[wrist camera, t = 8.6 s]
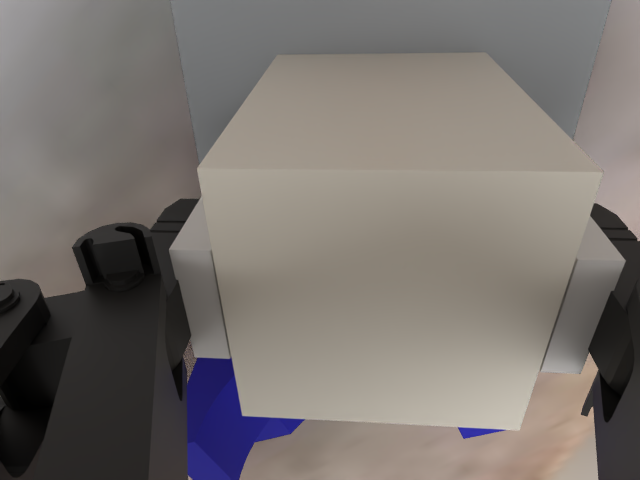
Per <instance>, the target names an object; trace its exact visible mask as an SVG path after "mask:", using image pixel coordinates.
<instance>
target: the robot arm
mask: <svg viewBox="0 0 640 480" xmlns="http://www.w3.org/2000/svg"><path fill="white" fill-rule="evenodd" d="M72 249H73V252H74V254H75V257H76V260H77V262H78V265H79V268H80V270H81V273H82V275H83V278H84V281H85V283H86V288H85V291H80V292H76V293H71V294H65V295H59V296H54V297H48V298H44V296H43V294H42V292H41V289H40V287H39V285H38V284H36V283H35V282H33V281H31V280H24V279H14V280H6V281H1V282H0V396H1V397H0V480H188V454H187V370H186V366H185V362H184V358H183V354H184V352H185V349H186V347H187V345H188V342H189V340H191V344H192V348H193V352H194V356H195V357H199V358H222V359H230V358H231V352H230V346H229V341H228V336H227V330H226V325H225V319H224V314H223V308H222V303H221V297H220V292H219V287H218V281H217V276H216V270H215V265H214V259H213V254H212V249H211V243H210V238H209V232H208V227H207V221H206V216H205V210H204V205H203V200H202V196H201V198H200V199H179V200H178V201H176V202H175V203H173V204H172V205H170V206H169V207H167V208H166V209H165V210H164V211H163V213H162V214H161V215H160V217H159V218H158V220H157V223H155V224H154V225H153V227H152V228H151V229H148V228H147V227H145V226H143V225H141V224H136V223H131V222H130V223H115V224H111V225H106V226H102V227H99V228H97V229H95V230H92V231H90V232H88V233H86V234H85V235H84V236H82V237H81V238H79V239H78V240H77V241H76V243H75V244H74V246H73V247H72ZM589 352H590V354H591V356H592V358H593V360H594V362H595V363H596V365H597V367H598V369H599V370H598V372H597V375H596V377H595V379H594V382H593V384H592V386H591V389H590V391H589V393H588V396H587V398H586V400H585V403H584V405H583V408H582V412H581V415H584V416H588V414H589V411H590V409H591V407H593V409H594V423H595V437H596V450H597V464H598V479H599V480H640V241H637V238H636V236H635V235H634V234H633V233H632V232H631V231H630V230H628V227H627V226H626V225H625V224H624V223H623V222H622V221H621V219H620V218H619V217H618V216H617V215H616V214H614V213H612V212H611V211H609V210H607V209H606V208H604V207H602V206H601V205H599V204H593V207H592V211H591V214H590V217H589V220H588V223H587V226H586V229H585V232H584V235H583V238H582V241H581V244H580V247H579V250H578V253H577V256H576V259H575V262H574V265H573V269H572V272H571V275H570V278H569V281H568V284H567V287H566V290H565V293H564V296H563V299H562V302H561V305H560V308H559V311H558V314H557V317H556V320H555V324H554V327H553V330H552V333H551V336H550V339H549V342H548V345H547V348H546V351H545V354H544V357H543V360H542V363H541V366H540V372H550V373H573V374H581V371H582V369H583V366H584V364H585V361H586V359H587V356H588V354H589Z"/></svg>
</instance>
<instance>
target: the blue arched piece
mask: <svg viewBox="0 0 640 480" xmlns="http://www.w3.org/2000/svg"><path fill="white" fill-rule="evenodd" d="M304 420H305V419H291V418H272V417H253V416H242V412H241V406H240V401H239V395H238V390H237V384H236V379H235V374H234V368H233V363H232V357H231V358H230V359H222V358H199V357H198V358H197V361H196V363H195V366H194V368H193V371H192V373H191V376H190V379H189V381H188V384H187V454H188V475H189V476H190V477H191V478H192V479H193V480H239V478H240V474H241V471H242V469H243V466H244V463H245V461H246V458H247V456H248V454H249V452H250V450H251V448H252V446H253V444H254V442H258V441H263V440H267V439H271V438H275V437H280V436H284V435H288V434H291V433H292V432H293V431H294V430H295V429H296V428H297V427H298V426H299V425H300V424H301V423H302V422H303V421H304ZM458 429H459V431H460V433H461V435H462V436H463V438H464V439H465V438H470V437H475V436H480V435H485V434H489V433H494V432H499V431H504V430H502V429H483V428H464V427H458Z"/></svg>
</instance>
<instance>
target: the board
mask: <svg viewBox="0 0 640 480" xmlns="http://www.w3.org/2000/svg"><path fill="white" fill-rule="evenodd" d="M611 1H612V0H170V3H171V9H172V15H173V20H174V26H175V31H176V37H177V43H178V48H179V54H180V59H181V65H182V71H183V76H184V82H185V88H186V93H187V99H188V104H189V110H190V116H191V121H192V127H193V132H194V138H195V144H196V149H197V155H198V160H199V165H200V163H201V162H202V160H203V159H204V158H205V156H206V155H207V153H208V152H209V151H210V149H211V148H212V146H213V145H214V144H215V142H216V141H217V139H218V138H219V136H220V135H221V134H222V132H223V131H224V129H225V128H226V127H227V125H228V124H229V122H230V121H231V119H232V118H233V117H234V115H235V114H236V112H237V111H238V110H239V108H240V107H241V105H242V104H243V103H244V101H245V100H246V98H247V97H248V95H249V94H250V93H251V91H252V90H253V88H254V87H255V86H256V84H257V83H258V81H259V80H260V78H261V77H262V76H263V74H264V73H265V71H266V70H267V69H268V67H269V66H270V64H271V63H272V62H273V60H274V59H275V57H276V56H277V55H295V54H383V53H471V52H486V53H487V54H488V55H489V56H490V57H491V58H492V59H493V60H494V61H495V62H496V63H497V64H498V65H499V66H500V67H501V68H502V69H503V70H504V71H505V72H506V73H507V74H508V75H509V76H510V77H511V78H512V79H513V80H514V81H515V82H516V83H517V84H518V85H519V86H520V87H521V88H522V89H523V90H524V91H525V93H526V94H527V95H528V96H529V97H530V98H531V99H532V100H533V101H534V102H535V103H536V104H537V105H538V106H539V107H540V108H541V109H542V110H543V111H544V112H545V113H546V114H547V115H548V116H549V117H550V118H551V119H552V120H553V121H554V122H555V123H556V124H557V125H558V126H559V127H560V128H561V129H562V130H563V131H564V132H565V133H566V134H567V135H568V136H569V137H570V138H571V139H572V140H573V137H574V134H575V130H576V126H577V123H578V119H579V116H580V112H581V108H582V105H583V101H584V98H585V94H586V91H587V87H588V83H589V80H590V76H591V73H592V69H593V65H594V62H595V58H596V55H597V51H598V47H599V44H600V40H601V37H602V33H603V30H604V26H605V22H606V19H607V15H608V12H609V8H610V4H611Z"/></svg>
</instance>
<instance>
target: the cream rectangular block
mask: <svg viewBox="0 0 640 480" xmlns="http://www.w3.org/2000/svg"><path fill="white" fill-rule="evenodd" d="M197 172H198V178H199V183H200V189H201V194H202V200H203V205H204V210H205V216H206V221H207V227H208V232H209V238H210V243H211V249H212V254H213V259H214V265H215V270H216V276H217V281H218V287H219V292H220V297H221V303H222V308H223V314H224V319H225V325H226V330H227V336H228V341H229V346H230V352H231V357H232V363H233V368H234V374H235V379H236V384H237V390H238V395H239V401H240V406H241V412H242V416H253V417H272V418H291V419H310V420H330V421H349V422H368V423H387V424H406V425H426V426H445V427H464V428H483V429H502V430H520V427H521V424H522V421H523V418H524V415H525V412H526V409H527V406H528V403H529V400H530V397H531V394H532V391H533V388H534V385H535V382H536V378H537V375H538V372H539V369H540V366H541V363H542V360H543V357H544V354H545V351H546V348H547V345H548V342H549V339H550V336H551V333H552V330H553V327H554V324H555V320H556V317H557V314H558V311H559V308H560V305H561V302H562V299H563V296H564V293H565V290H566V287H567V284H568V281H569V278H570V275H571V272H572V269H573V265H574V262H575V259H576V256H577V253H578V250H579V247H580V244H581V241H582V238H583V235H584V232H585V229H586V226H587V223H588V220H589V217H590V214H591V211H592V207H593V204H594V201H595V198H596V195H597V192H598V189H599V186H600V183H601V180H602V177H603V174H604V172H603V170H602V169H601V168H600V167H599V166H598V165H597V164H596V163H595V162H594V161H593V160H592V159H591V158H590V157H589V156H588V155H587V154H586V153H585V152H584V151H583V150H582V149H581V148H580V147H579V146H578V145H577V144H576V143H575V142H574V141H573V140H572V139H571V138H570V137H569V136H568V135H567V134H566V133H565V132H564V131H563V130H562V129H561V128H560V127H559V126H558V125H557V124H556V123H555V122H554V121H553V120H552V119H551V118H550V117H549V116H548V115H547V114H546V113H545V112H544V111H543V110H542V109H541V108H540V107H539V106H538V105H537V104H536V103H535V102H534V101H533V100H532V99H531V98H530V97H529V96H528V95H527V94H526V93H525V91H524V90H523V89H522V88H521V87H520V86H519V85H518V84H517V83H516V82H515V81H514V80H513V79H512V78H511V77H510V76H509V75H508V74H507V73H506V72H505V71H504V70H503V69H502V68H501V67H500V66H499V65H498V64H497V63H496V62H495V61H494V60H493V59H492V58H491V57H490V56H489V55H488V54H487V53H486V52H471V53H383V54H295V55H277V56H276V57H275V59H274V60H273V62H272V63H271V64H270V66H269V67H268V69H267V70H266V71H265V73H264V74H263V76H262V77H261V78H260V80H259V81H258V83H257V84H256V86H255V87H254V88H253V90H252V91H251V93H250V94H249V95H248V97H247V98H246V100H245V101H244V103H243V104H242V105H241V107H240V108H239V110H238V111H237V112H236V114H235V115H234V117H233V118H232V119H231V121H230V122H229V124H228V125H227V127H226V128H225V129H224V131H223V132H222V134H221V135H220V136H219V138H218V139H217V141H216V142H215V144H214V145H213V146H212V148H211V149H210V151H209V152H208V153H207V155H206V156H205V158H204V159H203V160H202V162H201V163H200V165H199V166H198V168H197Z"/></svg>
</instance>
